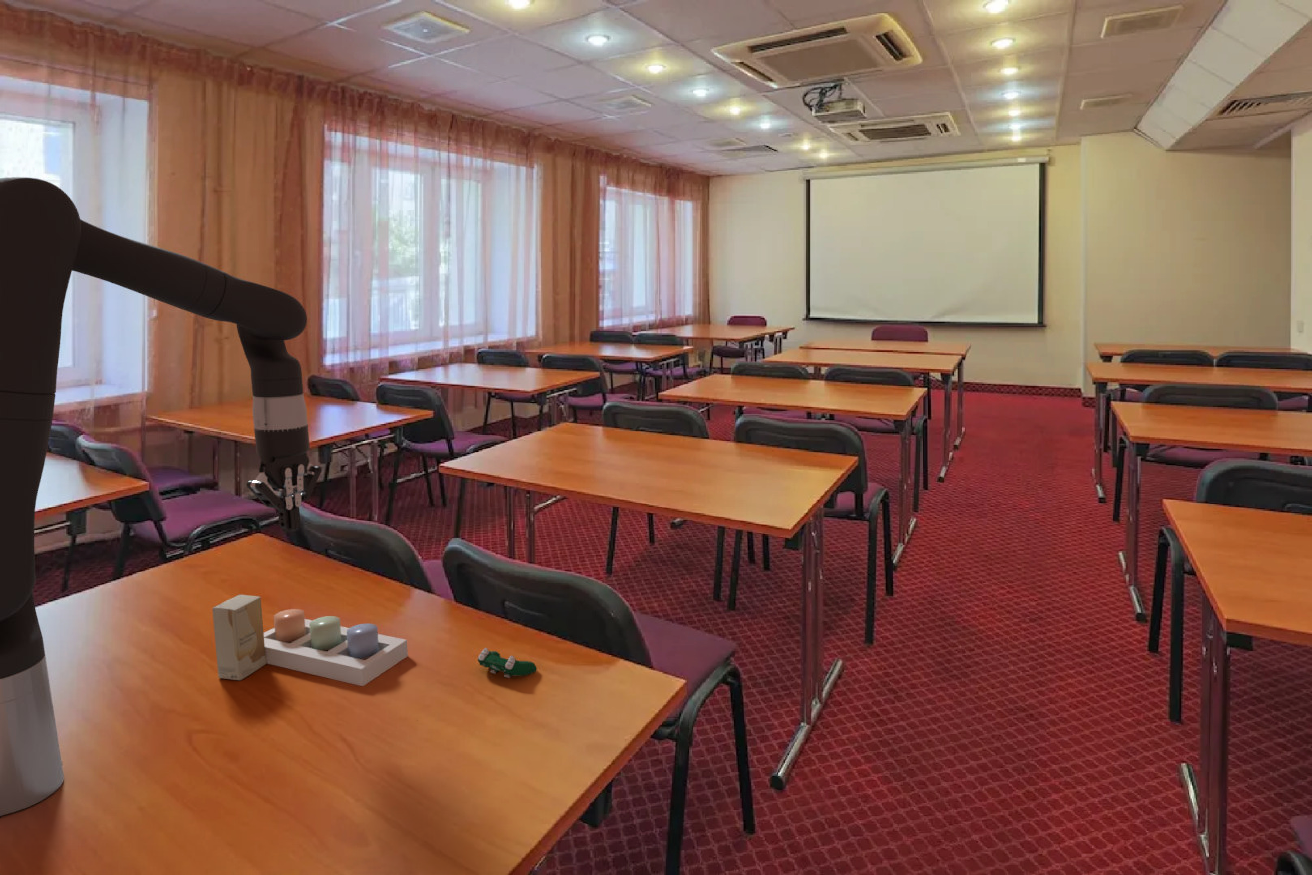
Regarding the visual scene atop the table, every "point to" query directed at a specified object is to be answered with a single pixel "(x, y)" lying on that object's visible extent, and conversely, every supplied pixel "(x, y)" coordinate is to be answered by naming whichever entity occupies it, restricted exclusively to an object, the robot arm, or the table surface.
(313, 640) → the green button
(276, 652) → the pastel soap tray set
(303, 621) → the terracotta button
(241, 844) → the table surface
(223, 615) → the skincare box
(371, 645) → the blue button
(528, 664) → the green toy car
